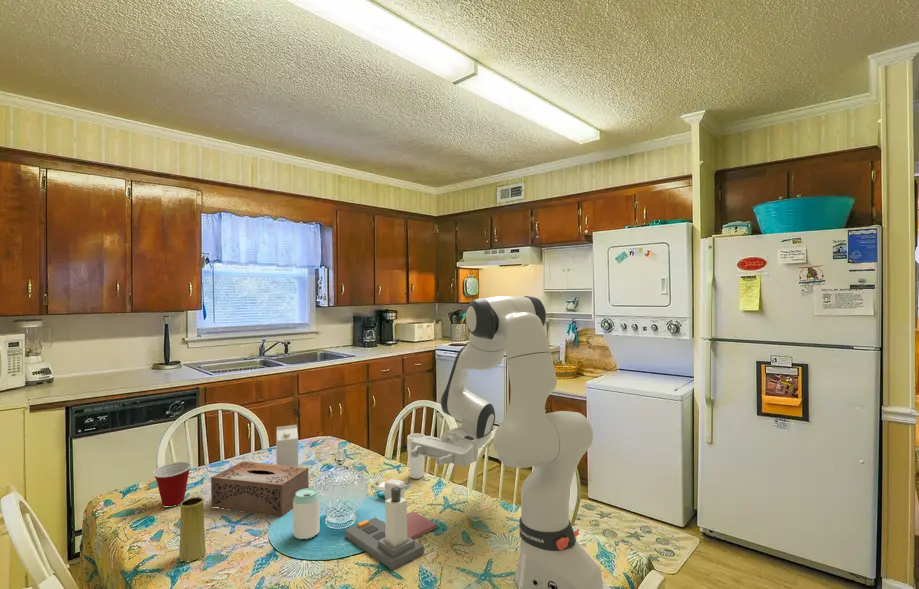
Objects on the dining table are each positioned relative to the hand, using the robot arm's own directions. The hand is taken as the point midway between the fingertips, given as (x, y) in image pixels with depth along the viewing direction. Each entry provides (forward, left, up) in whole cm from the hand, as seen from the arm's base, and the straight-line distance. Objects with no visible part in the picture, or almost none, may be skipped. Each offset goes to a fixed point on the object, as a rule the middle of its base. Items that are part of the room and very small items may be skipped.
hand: (425, 458), depth 131 cm
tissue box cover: (+54, +25, -22) cm, 63 cm away
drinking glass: (+34, -24, -21) cm, 47 cm away
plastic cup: (+73, +46, -22) cm, 89 cm away
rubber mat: (+6, +1, -21) cm, 22 cm away
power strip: (+4, +12, -21) cm, 25 cm away
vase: (+35, +50, -21) cm, 65 cm away
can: (+24, +24, -22) cm, 40 cm away
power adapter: (+27, -6, -22) cm, 35 cm away
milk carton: (+68, +10, -22) cm, 72 cm away
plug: (-2, +12, -21) cm, 25 cm away
